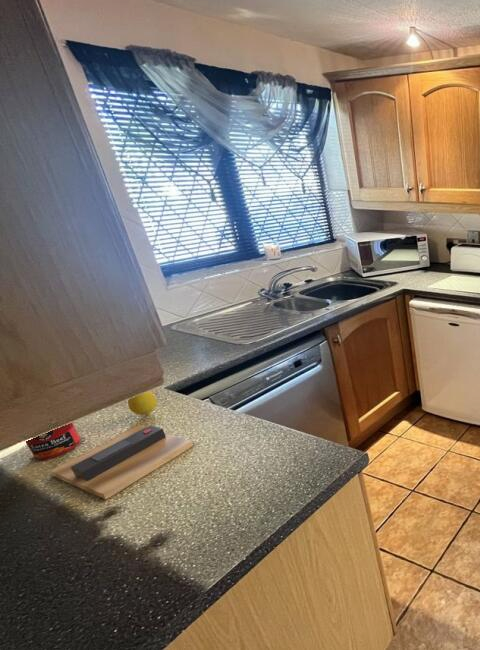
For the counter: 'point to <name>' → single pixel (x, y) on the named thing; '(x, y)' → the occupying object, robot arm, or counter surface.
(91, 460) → the remote
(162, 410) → the counter surface
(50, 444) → the canned food
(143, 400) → the lemon
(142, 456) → the board
